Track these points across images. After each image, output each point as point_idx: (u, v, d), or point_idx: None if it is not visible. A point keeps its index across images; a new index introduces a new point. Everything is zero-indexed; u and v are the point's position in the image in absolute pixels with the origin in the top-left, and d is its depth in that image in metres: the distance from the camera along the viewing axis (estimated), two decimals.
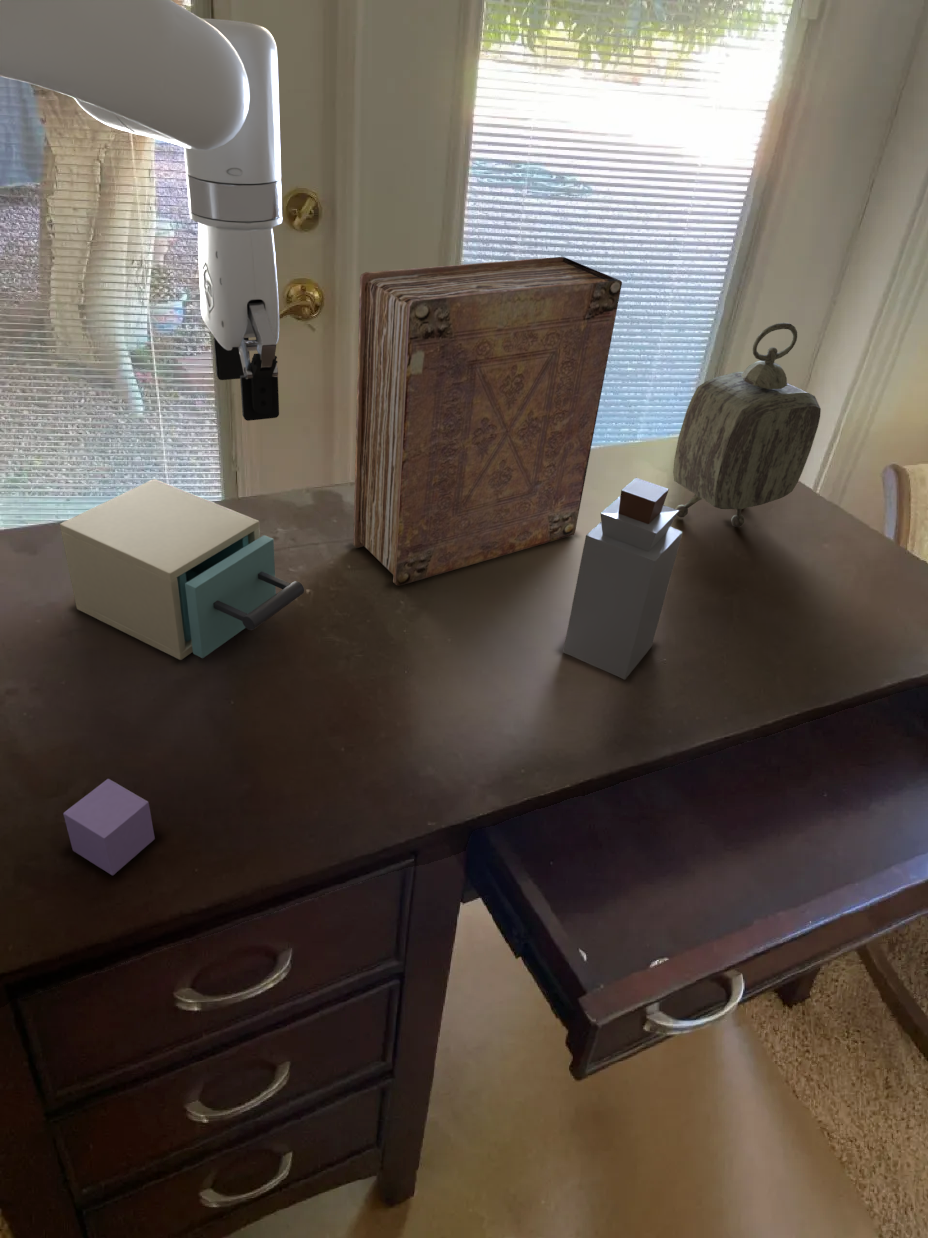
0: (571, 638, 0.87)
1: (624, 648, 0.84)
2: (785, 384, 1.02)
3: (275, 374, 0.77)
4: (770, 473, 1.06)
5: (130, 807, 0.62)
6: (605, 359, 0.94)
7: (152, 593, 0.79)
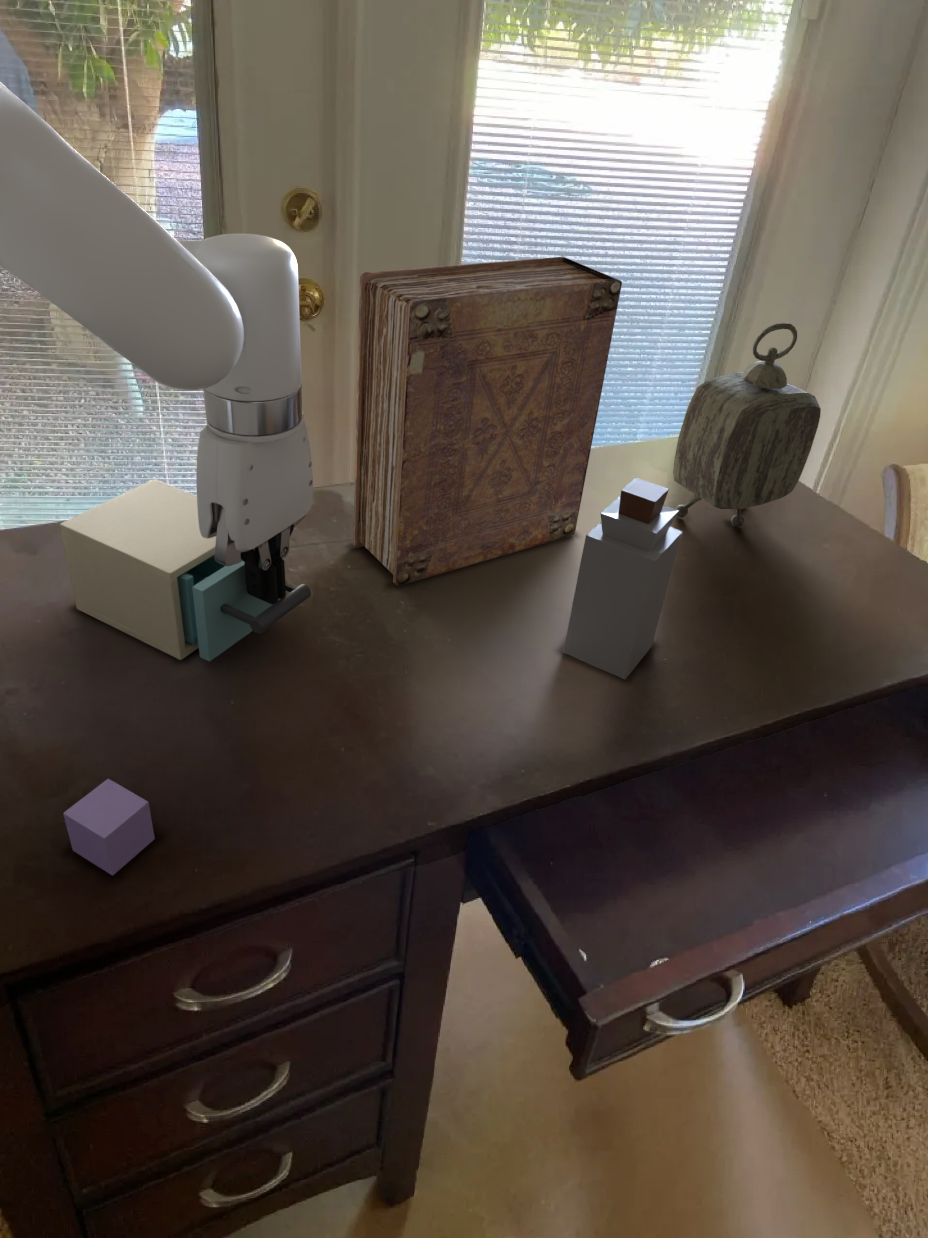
0: (571, 638, 0.87)
1: (624, 648, 0.84)
2: (785, 384, 1.02)
3: (261, 567, 0.77)
4: (770, 473, 1.06)
5: (130, 807, 0.62)
6: (605, 359, 0.94)
7: (152, 593, 0.79)
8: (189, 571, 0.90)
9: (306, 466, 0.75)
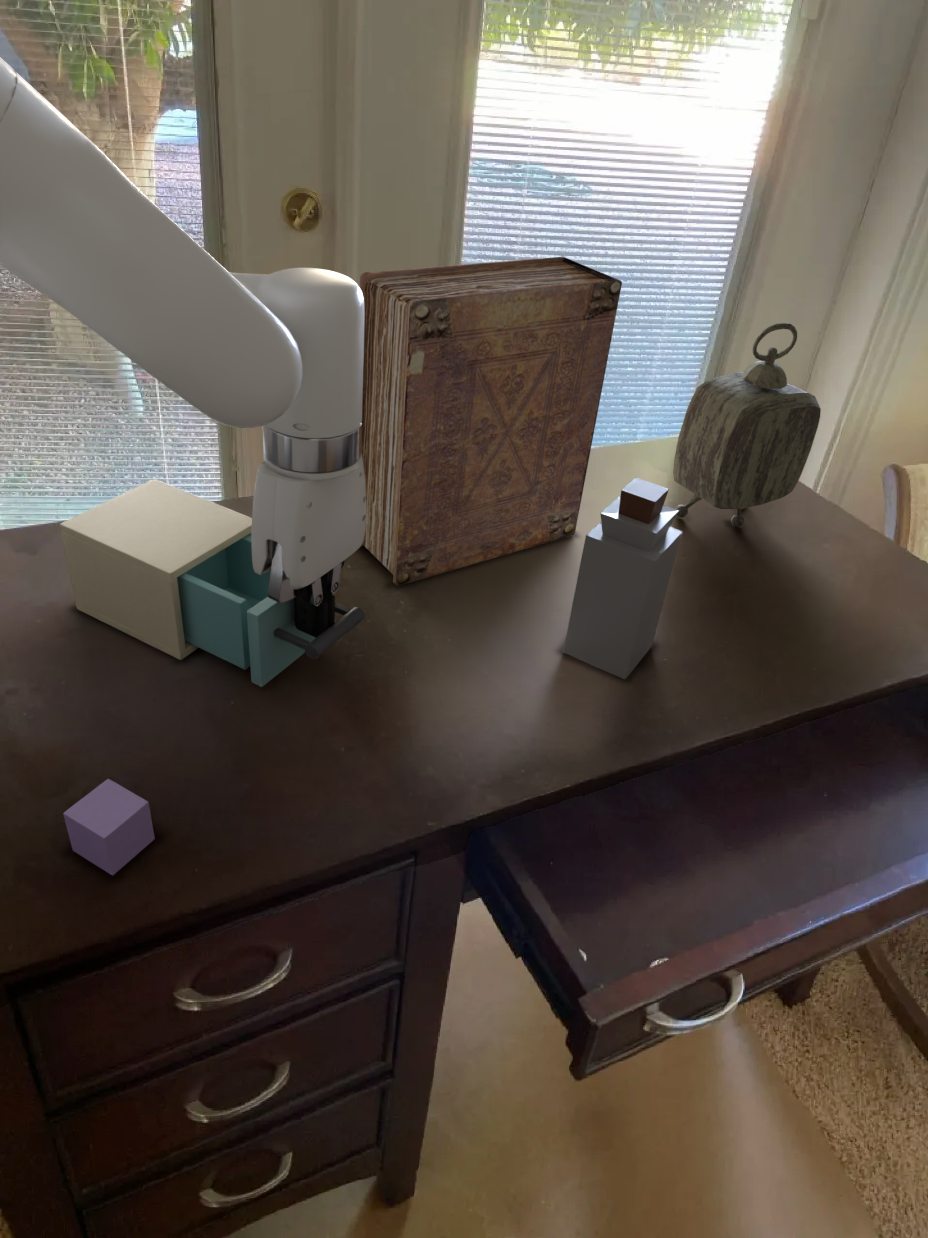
0: (571, 638, 0.87)
1: (624, 648, 0.84)
2: (785, 384, 1.02)
3: (312, 603, 0.75)
4: (770, 473, 1.06)
5: (130, 807, 0.62)
6: (605, 359, 0.94)
7: (152, 593, 0.79)
8: (235, 591, 0.88)
9: (361, 501, 0.74)
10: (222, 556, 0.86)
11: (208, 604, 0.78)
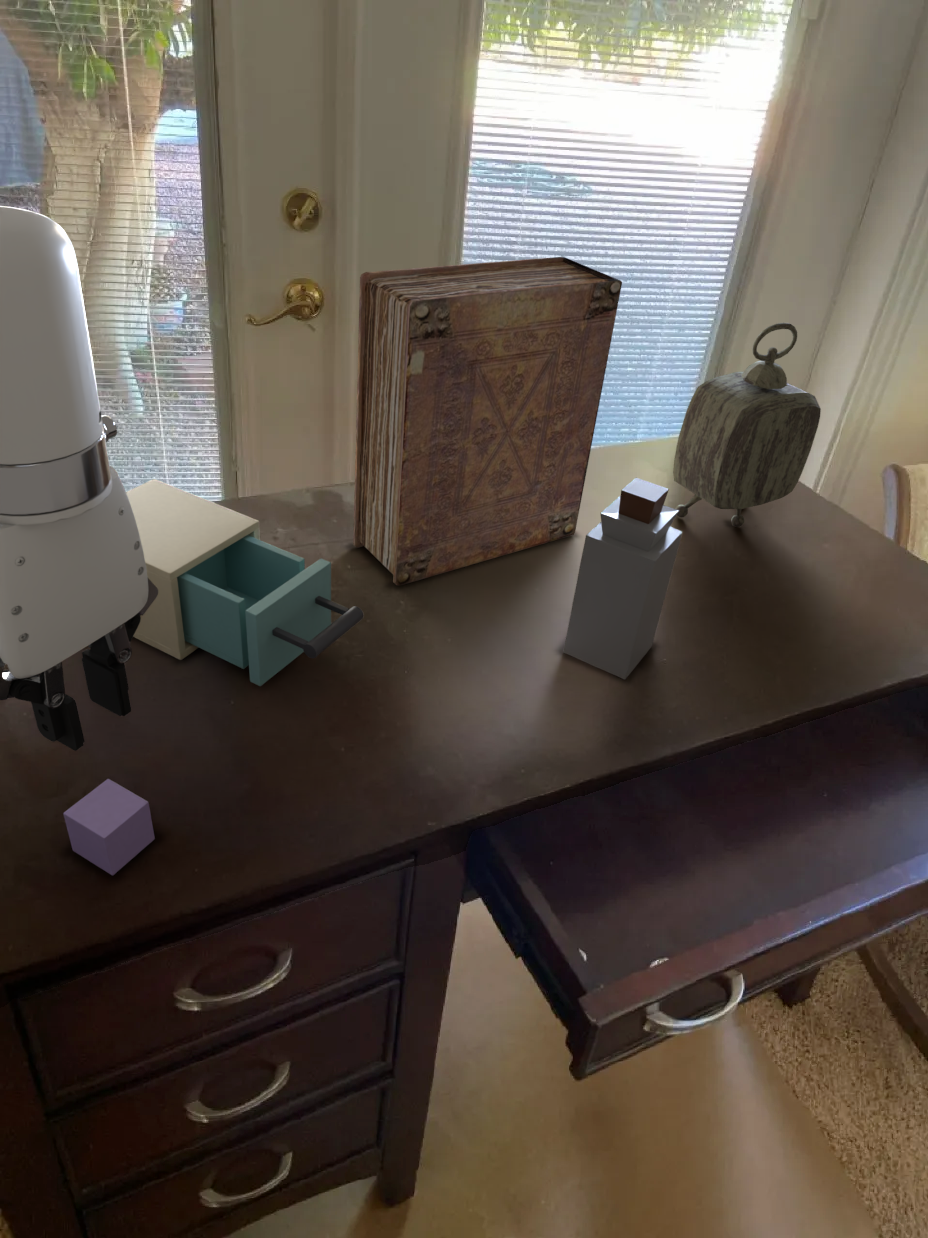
0: (571, 638, 0.87)
1: (624, 648, 0.84)
2: (785, 384, 1.02)
3: (47, 705, 0.52)
4: (770, 473, 1.06)
5: (130, 807, 0.62)
6: (605, 359, 0.94)
7: None
8: (234, 591, 0.88)
9: (129, 549, 0.52)
10: (221, 555, 0.86)
11: (207, 603, 0.78)
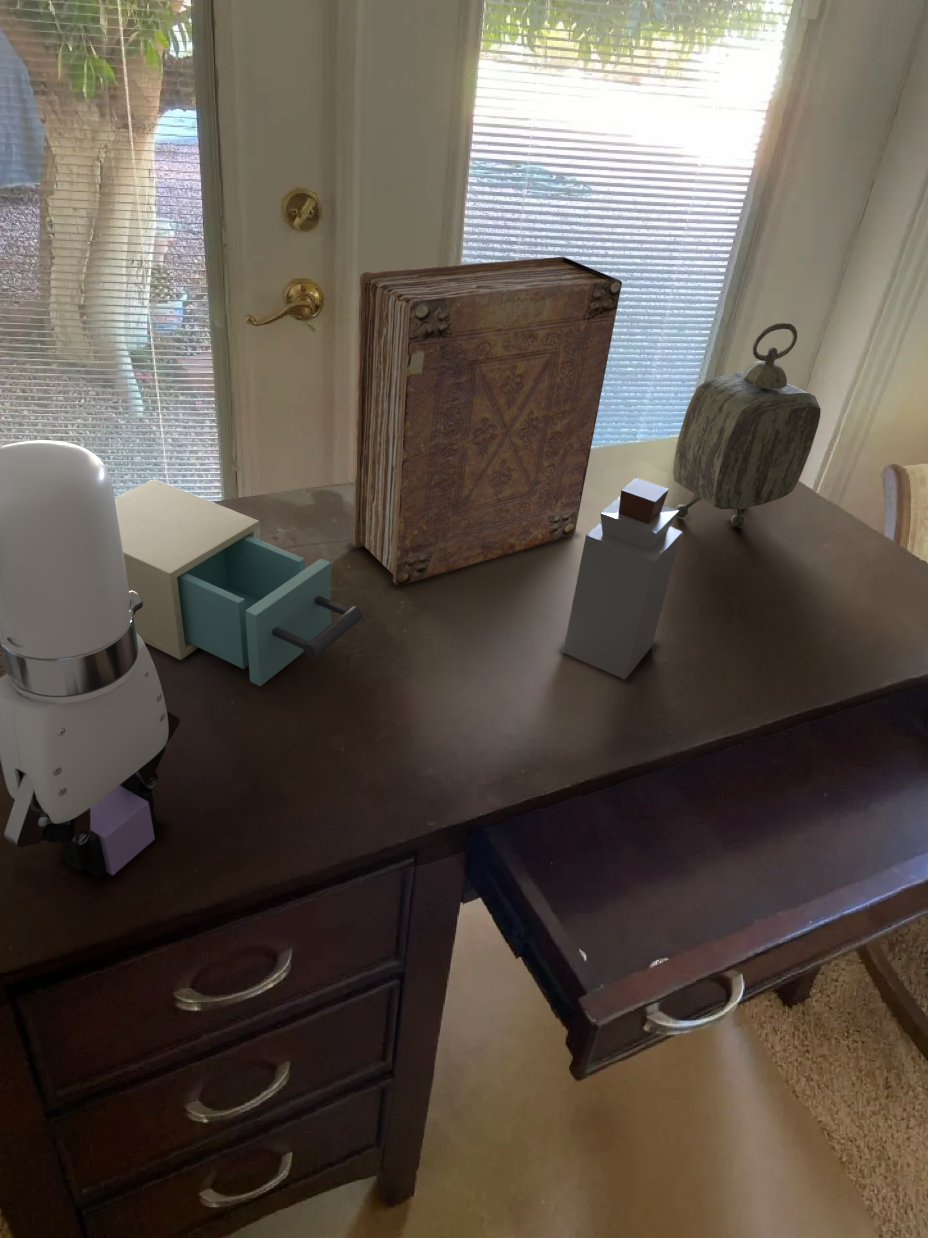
0: (571, 638, 0.87)
1: (624, 648, 0.84)
2: (785, 384, 1.02)
3: (75, 843, 0.59)
4: (770, 473, 1.06)
5: (130, 807, 0.62)
6: (605, 359, 0.94)
7: (152, 593, 0.79)
8: (234, 591, 0.88)
9: (153, 702, 0.59)
10: (221, 555, 0.86)
11: (207, 603, 0.78)
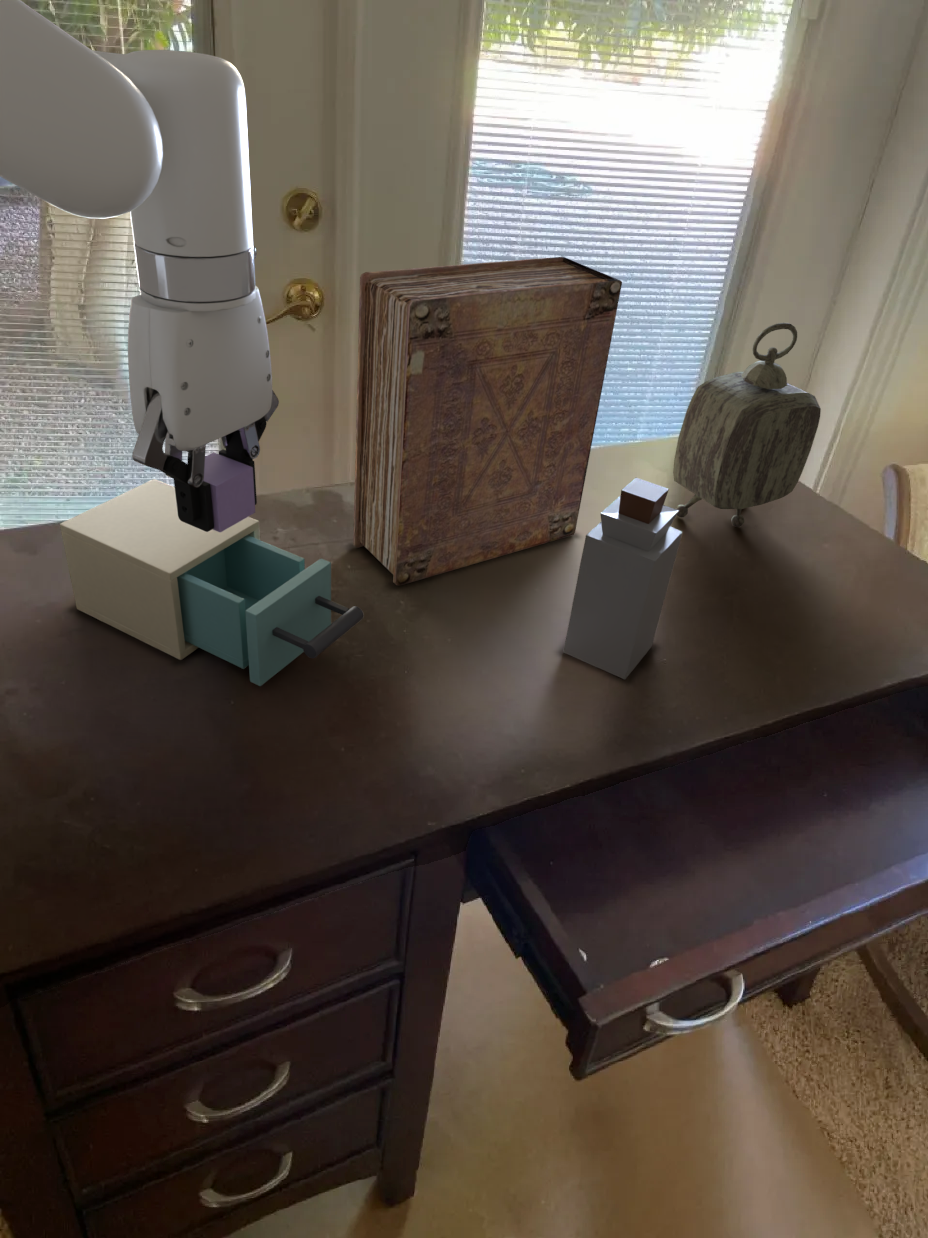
0: (571, 638, 0.87)
1: (624, 648, 0.84)
2: (785, 384, 1.02)
3: (190, 483, 0.64)
4: (770, 473, 1.06)
5: (236, 469, 0.68)
6: (605, 359, 0.94)
7: (152, 593, 0.79)
8: (234, 591, 0.88)
9: (262, 355, 0.64)
10: (221, 555, 0.86)
11: (207, 603, 0.78)
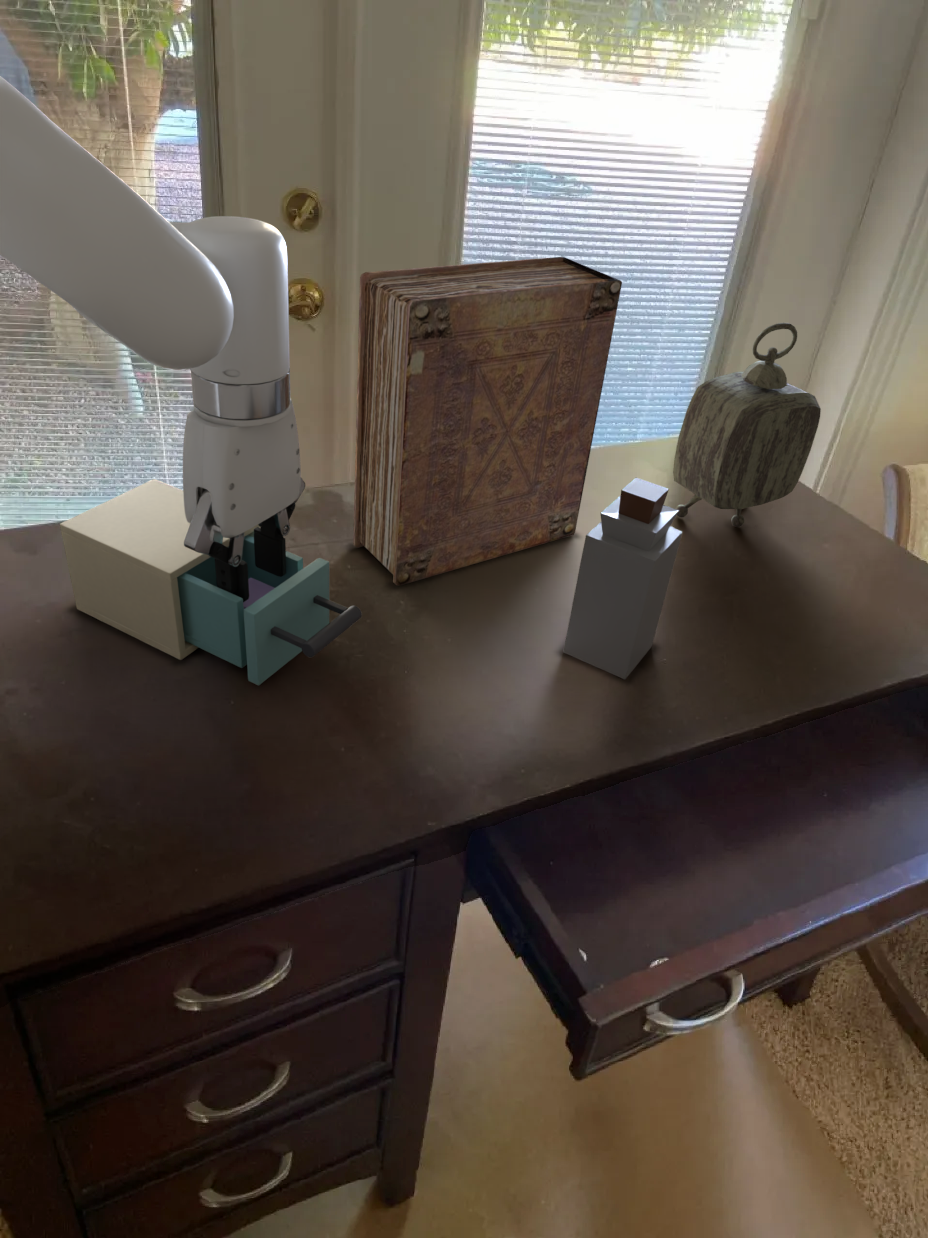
0: (571, 638, 0.87)
1: (624, 648, 0.84)
2: (785, 384, 1.02)
3: (230, 564, 0.75)
4: (770, 473, 1.06)
5: None
6: (605, 359, 0.94)
7: (152, 593, 0.79)
8: None
9: (294, 453, 0.75)
10: None
11: (205, 603, 0.78)
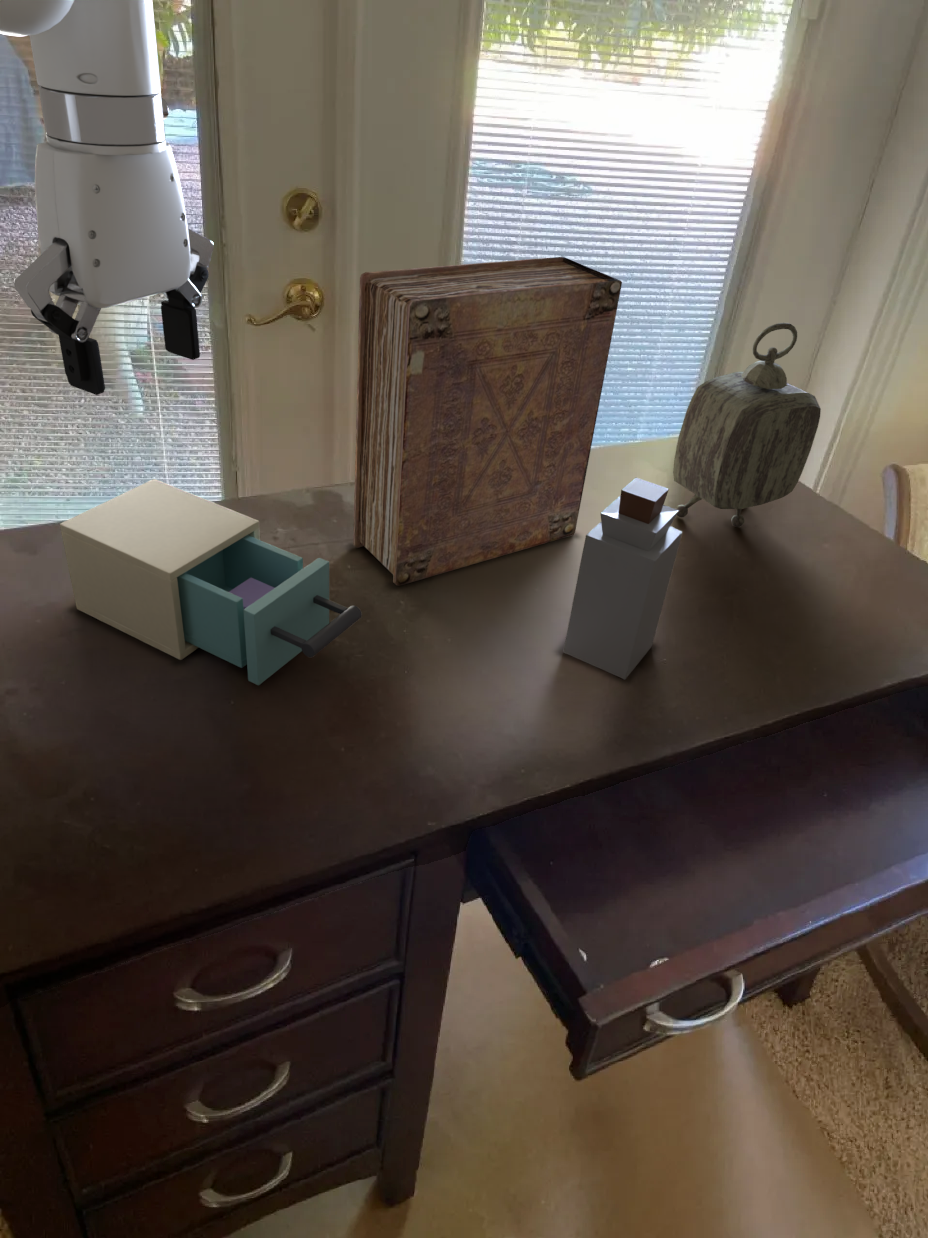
0: (571, 638, 0.87)
1: (624, 648, 0.84)
2: (785, 384, 1.02)
3: (74, 337, 0.61)
4: (770, 473, 1.06)
5: None
6: (605, 359, 0.94)
7: (152, 593, 0.79)
8: None
9: (177, 217, 0.64)
10: (219, 555, 0.86)
11: (205, 603, 0.78)
